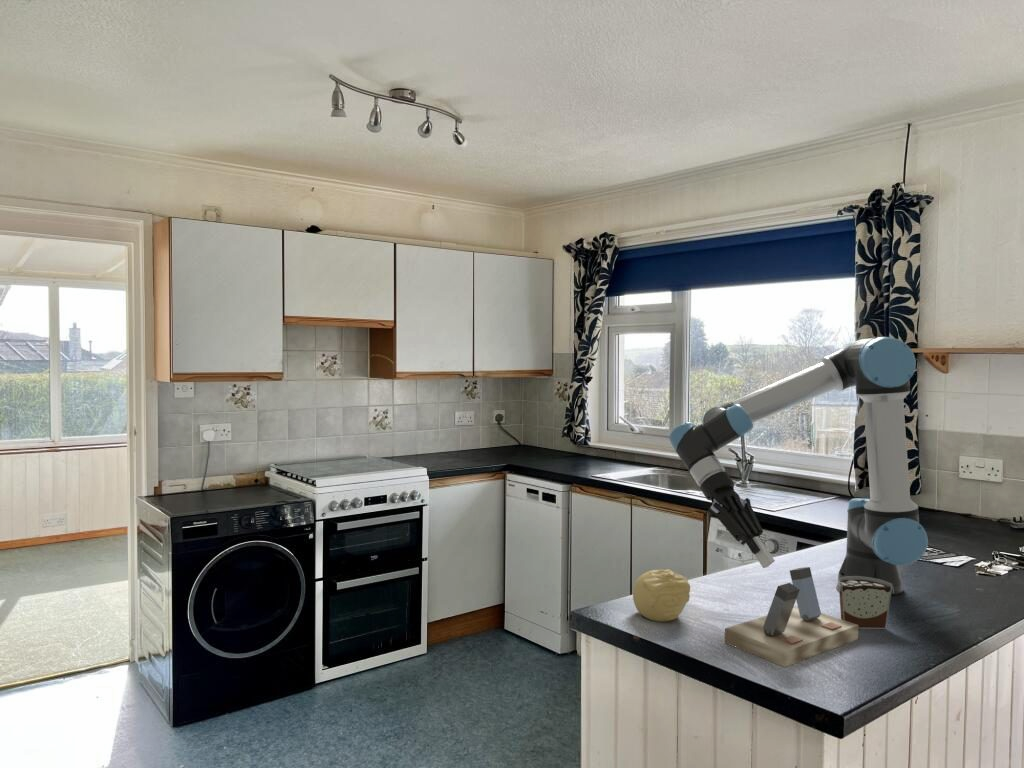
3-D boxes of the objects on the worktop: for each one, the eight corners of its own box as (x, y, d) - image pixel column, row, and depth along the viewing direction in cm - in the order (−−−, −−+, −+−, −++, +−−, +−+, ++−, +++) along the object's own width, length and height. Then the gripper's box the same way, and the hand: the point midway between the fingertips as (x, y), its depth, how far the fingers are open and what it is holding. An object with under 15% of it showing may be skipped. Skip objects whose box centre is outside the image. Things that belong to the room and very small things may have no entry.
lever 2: (812, 617, 159) (800, 567, 161) (822, 617, 157) (810, 566, 159) (800, 621, 156) (788, 570, 158) (810, 621, 154) (798, 569, 156)
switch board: (798, 618, 166) (798, 604, 166) (858, 639, 154) (858, 623, 154) (724, 642, 150) (725, 626, 150) (784, 667, 139) (785, 650, 139)
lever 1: (774, 627, 150) (790, 582, 147) (783, 634, 149) (800, 589, 145) (761, 631, 148) (777, 586, 145) (770, 638, 146) (787, 593, 143)
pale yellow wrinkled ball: (653, 629, 157) (654, 579, 157) (623, 610, 168) (624, 564, 168) (696, 622, 162) (698, 574, 162) (664, 605, 173) (666, 560, 172)
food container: (877, 619, 167) (879, 575, 167) (892, 629, 161) (894, 584, 160) (824, 618, 166) (826, 574, 166) (837, 628, 160) (839, 583, 160)
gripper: (720, 486, 183) (776, 569, 170) (685, 490, 176) (740, 577, 163) (739, 468, 179) (797, 551, 166) (703, 471, 171) (761, 559, 158)
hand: (769, 564), depth 164 cm, fingers closed
